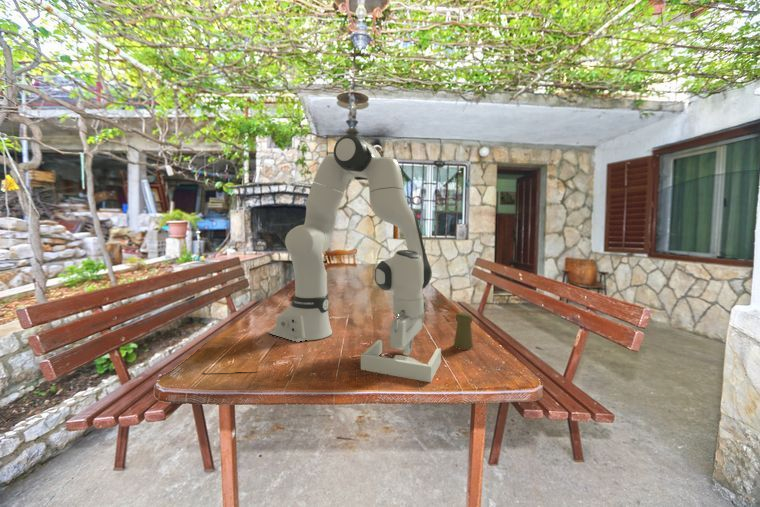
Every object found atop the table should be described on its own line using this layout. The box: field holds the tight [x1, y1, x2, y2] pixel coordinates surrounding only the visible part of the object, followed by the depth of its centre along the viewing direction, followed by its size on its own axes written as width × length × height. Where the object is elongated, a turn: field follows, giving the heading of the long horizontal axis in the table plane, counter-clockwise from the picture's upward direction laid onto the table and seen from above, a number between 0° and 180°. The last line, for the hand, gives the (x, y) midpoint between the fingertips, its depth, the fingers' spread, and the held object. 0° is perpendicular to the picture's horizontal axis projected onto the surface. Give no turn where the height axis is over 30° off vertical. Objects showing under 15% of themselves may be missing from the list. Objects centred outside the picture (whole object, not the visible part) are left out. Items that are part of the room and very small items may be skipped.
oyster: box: [392, 354, 421, 363], centre depth 89 cm, size 8×12×2 cm, turn 27°
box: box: [360, 339, 442, 383], centre depth 90 cm, size 19×13×4 cm
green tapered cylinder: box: [453, 311, 474, 350], centre depth 104 cm, size 6×6×11 cm
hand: (407, 353), depth 95 cm, fingers closed
